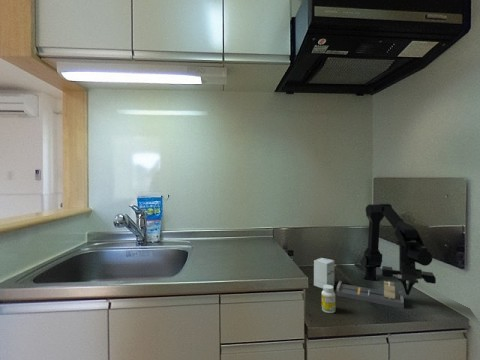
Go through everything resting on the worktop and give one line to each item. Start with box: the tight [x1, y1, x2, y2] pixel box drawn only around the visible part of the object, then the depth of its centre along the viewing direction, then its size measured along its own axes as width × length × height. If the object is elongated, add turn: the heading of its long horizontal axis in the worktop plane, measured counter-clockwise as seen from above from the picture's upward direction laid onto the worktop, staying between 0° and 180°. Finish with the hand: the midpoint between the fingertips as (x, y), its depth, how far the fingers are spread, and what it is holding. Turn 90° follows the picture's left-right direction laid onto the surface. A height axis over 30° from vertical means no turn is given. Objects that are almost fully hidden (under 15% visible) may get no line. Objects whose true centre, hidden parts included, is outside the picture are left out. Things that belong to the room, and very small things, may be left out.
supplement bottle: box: [321, 285, 336, 314], centre depth 107 cm, size 5×5×10 cm
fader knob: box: [383, 280, 396, 299], centre depth 114 cm, size 5×4×5 cm
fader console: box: [335, 280, 405, 309], centre depth 118 cm, size 10×26×4 cm, turn 62°
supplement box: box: [313, 257, 335, 289], centre depth 131 cm, size 7×7×13 cm
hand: (407, 294), depth 111 cm, fingers closed
